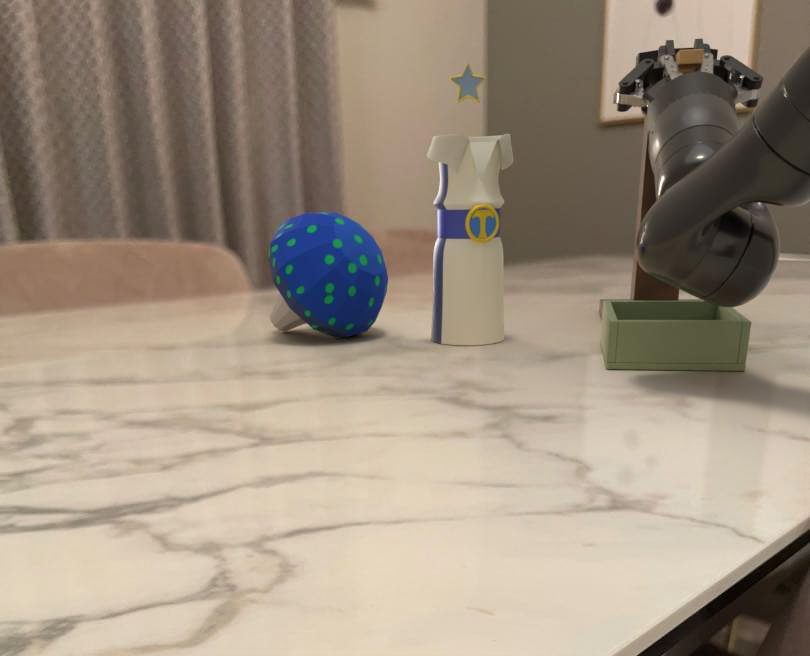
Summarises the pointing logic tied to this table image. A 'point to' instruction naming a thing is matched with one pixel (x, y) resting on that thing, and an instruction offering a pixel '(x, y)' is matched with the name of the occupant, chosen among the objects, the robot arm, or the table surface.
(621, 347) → the tray
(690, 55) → the pan
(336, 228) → the mushroom
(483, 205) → the cream dress figure
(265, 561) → the table surface
